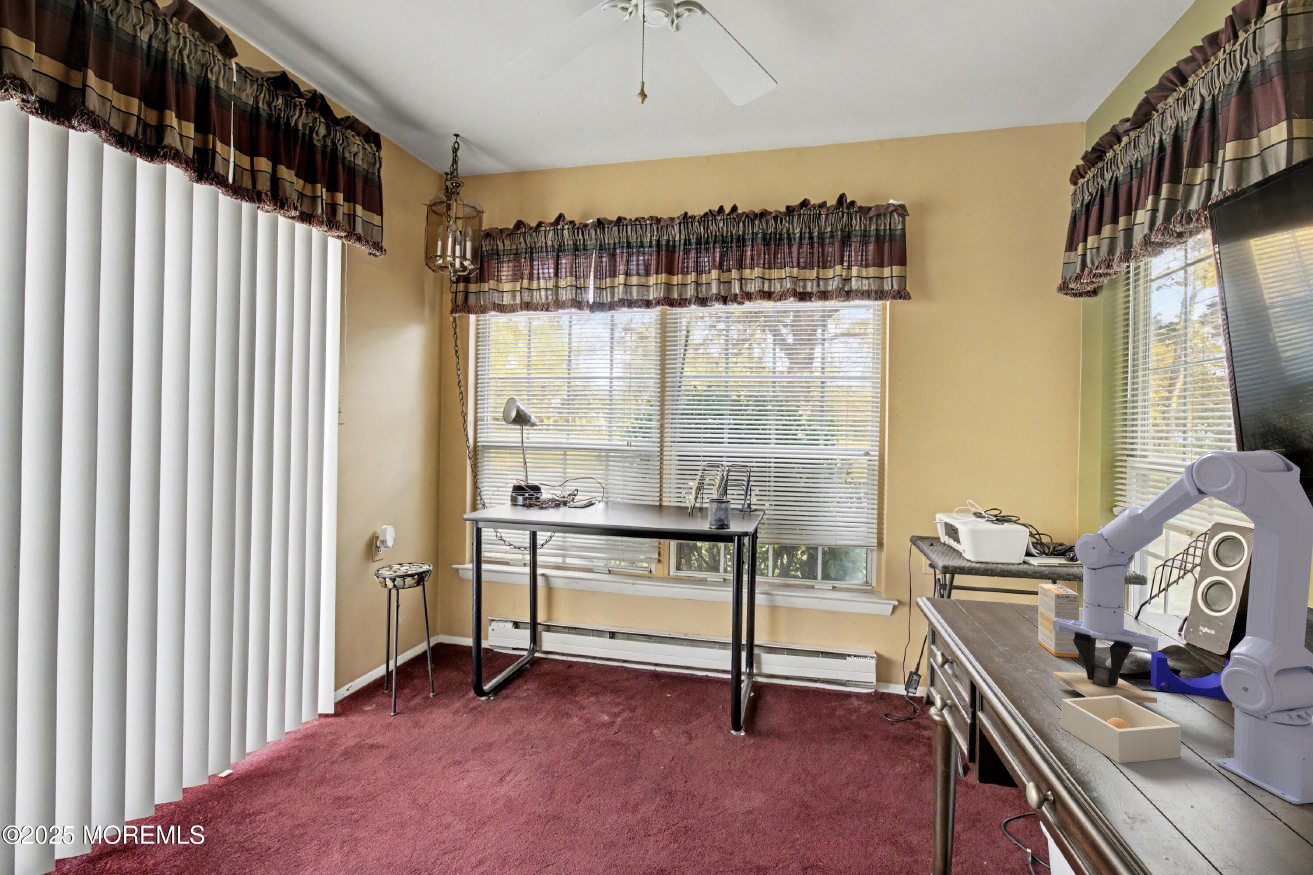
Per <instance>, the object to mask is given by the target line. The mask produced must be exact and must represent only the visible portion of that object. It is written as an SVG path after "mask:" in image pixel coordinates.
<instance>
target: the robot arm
mask: <svg viewBox="0 0 1313 875" xmlns="http://www.w3.org/2000/svg"><path fill="white" fill-rule="evenodd" d="M1300 474H1301V468H1300V467H1299V466H1297V465H1296V464H1294V463H1293V462H1292V461H1290V460H1289V459H1287V457H1285V456H1283V455H1282V454H1280V453H1278V452H1276V451H1272V450H1267V449H1259V450H1258V449H1257V450H1254V451H1247V450H1246V451H1224V450H1213V451H1209V452H1206V453H1205V452H1204V453H1203V454H1202V455H1201V456H1199V457H1198V458H1197V459H1196V460H1195V461H1193V462H1191V463H1189V464H1187V465H1185V467H1184V470H1183V473H1181V475H1179V476H1178V477H1177V478H1176V479H1174V480H1173V481H1172V482H1171V483H1170V484H1168V486H1167V487H1165V488H1164V489H1163V490H1162V491H1161V492H1159V493H1158V494H1157V495H1156V496H1155V497H1153V499H1151V500H1150V501H1149V502H1148V503H1147V504H1146V505H1144V506H1143V507H1138V506H1130V507H1124V508H1121V509H1120V510H1119V511H1117V514H1118V516H1117V517H1115V518H1114V519H1113V520H1111V521H1110V522H1109V523H1107V524H1106V525H1105V524H1104V525H1101V526H1100V527H1099V528H1098V531H1097V532H1096V533H1084V534H1081V535H1080V537H1079V538H1078V539H1077V540H1076V542H1075V546H1074V550H1075V551H1074V552H1075V556H1076V558H1077V560H1078V561H1079V562H1080V564H1081V565H1082V566H1083V570H1082V571H1083V572H1082V573H1083V577H1082V578H1083V580H1082V582H1083V584H1082V620H1079V621H1075V620H1067V619H1061V618H1055V619H1054V620H1053V631H1058V632H1060V631H1063V632H1068V633H1073V634H1075V636H1074V639H1073V642H1074V644H1075V646H1076V648H1077V649H1078V651H1079V656H1080V657H1081V660H1082V662H1083V665H1084V667H1085V673H1087V678H1088V680H1093V665H1094V664H1096V646H1097V639H1098V640H1101V641H1107V642H1111V643H1112V644H1111V645H1110V646H1109V653H1110V654H1109V656H1110V667H1111V675H1110V685H1112V686H1116V685H1117V684H1118V679H1119V678H1120V674H1121V672H1122V668H1123V666H1124V664H1125V662H1126V660H1127V658H1128V656H1129V655H1130V653H1131V651H1132V650H1133V648H1134V647H1135V648H1138V649H1145V650H1147V651H1148V652H1150V653H1151V652H1158V650H1159V638H1158V637H1155V636H1150V635H1147V634H1142V633H1139V632H1135V631H1133V630H1130V629H1129V630H1128V629H1125V578H1126V575H1128V568H1129V566H1130V565H1131V564H1132V563H1133V561H1134V559H1135V555H1136V553H1137V552H1139V551H1140V550H1142V549H1143V548H1145V547H1146V546H1148V545H1149V544H1151V543H1152V542H1155V540H1157V539H1158V538H1160V537H1161V536H1162V535H1163V533H1164V524H1165V523H1166V522H1168V521H1170V520H1171V519H1173V518H1175V517H1177V516H1178V515H1180V514H1181V513H1183V512H1184V511H1187V510H1188V509H1190V508H1191V507H1193V506H1195V505H1196V504H1198V503H1199V502H1201V501H1203V500H1204V499H1207V498H1214V499H1216V500H1218V501H1220V502H1222V503H1225V504H1226V505H1229V506H1231V507H1232V508H1235V509H1236V510H1238V511H1240V512H1241V514H1242V515H1244V516H1245V517H1247V518H1248V519H1249V520H1251V522H1252V523H1253V536H1252V537H1253V538H1252V551H1251V560H1250V561H1251V565H1250V575H1249V576H1250V578H1249V586H1248V587H1249V590H1248V603H1247V616H1246V626H1245V627H1246V629H1245V636H1244V637H1243V639H1242V640H1241V641H1240V642H1238V644H1237V645H1236V646H1235V647H1234V648H1233V649H1232V650H1231V652H1230V657H1229V661H1230V662H1229V664H1228V666H1227V667H1226V668H1225V669H1224V668H1223V669H1224V670H1222V671H1223V672H1222V671H1221V672H1222V674H1221V685H1222V689H1223V691H1224V693H1225V694H1226V696H1227V697H1228V699H1229V700H1228V701H1230V702H1231V705H1232V706H1231V707H1232V708H1233V709H1234V722H1233V723H1234V730H1233V732H1234V734H1233V739H1234V741H1233V757H1229V758H1228V757H1227V758H1220V759H1219V758H1217V759H1215V764H1216V765H1218V766H1220V767H1222V768H1224V769H1226V770H1228V771H1230V772H1232V773H1234V774H1235V775H1237V776H1238V777H1241V778H1242V779H1245V780H1247V781H1249V782H1251V783H1253V784H1255V785H1256V786H1258V787H1260V788H1262V789H1264V790H1266V791H1267V792H1270V793H1272V795H1273V794H1274V795H1275V796H1276V797H1279V798H1281V799H1283V800H1285V801H1286V802H1288V803H1290V802H1291V803H1290V804H1294V805H1303V804H1310V803H1311V804H1312V803H1313V722H1312V719H1313V718H1312V717H1313V652H1312V651H1310V650H1308V648H1307V647H1305V644H1306V643H1305V642H1306V630H1307V619H1308V609H1309V608H1308V606H1309V596H1310V595H1309V593H1310V586H1311V585H1310V584H1311V574H1312V573H1311V571H1312V562H1313V561H1312V559H1313V505H1312V503H1311V501H1310V499H1309V498H1308V496H1307V494H1306V492H1305V490H1304V488H1303V486H1302V484H1301V483H1300Z"/></svg>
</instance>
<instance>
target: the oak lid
mask: <svg viewBox="0 0 1313 875" xmlns="http://www.w3.org/2000/svg"><path fill="white" fill-rule="evenodd" d="M1110 675H1111V666H1108V665H1105V664H1101V663H1099V664H1097V663H1095V664H1094V665H1093V680H1088V678H1087V673H1086V672H1073V671H1072V672H1068V671H1067V672H1066V671H1052V677H1054V679H1056V680H1058V681H1060V682H1062V683H1063V684H1065V685H1066V686H1067V687H1069V688H1072V689H1073V690H1075V691H1076V692H1077V693H1080V694H1081V695H1083V696H1084V697H1085V698H1086V697H1099V696H1113V695H1119V696H1121V697H1123V698H1125V699H1127V700H1129V701H1131V702H1133V703H1135V704H1146V703H1147V704H1157V703H1158V698H1157V697H1156V696H1153V695H1152V694H1150V693H1148V692H1146V691H1144V690H1142V689H1140V688H1138V687H1137V686H1135V685H1132V683H1129V682H1127V681H1125V680H1123V679H1121V678H1120V677H1119V679H1118V684H1117V685H1116V686H1112V685H1110Z"/></svg>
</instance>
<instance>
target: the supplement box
mask: <svg viewBox="0 0 1313 875" xmlns="http://www.w3.org/2000/svg"><path fill="white" fill-rule="evenodd" d="M1037 591H1038V599H1037V600H1038V602H1037V603H1038V605H1037V606H1038V608H1037V610H1038V613H1037V614H1038V615H1037V616H1038V617H1037V619H1038V620H1037V621H1038V623H1037V624H1038V626H1037V627H1038V630H1037V631H1038V633H1037V635H1038V636H1037V638H1038V639H1037V640H1038V641H1037V644H1040V646H1041V647H1042V648H1044V649H1046V650H1047V651H1048V652H1049V653H1051V654H1052V655H1053V656H1054V657H1059V658H1061V657H1062V658H1075V657H1076V659H1077V658H1079V656H1080V653H1079V651H1078V649H1077V648H1076V646H1075V644H1074V642H1073V639H1074V636H1075V634H1073V633H1068V632H1063V631H1060V632H1058V631H1053V620H1054V619H1055V618H1061V619H1067V620H1075V621H1080V594H1079V593H1077V592H1075V591H1074V590H1071V589H1070V588H1068V587H1067V586H1065V585H1062V584H1056V583H1055V584H1054V583H1038V590H1037Z"/></svg>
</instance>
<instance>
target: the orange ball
mask: <svg viewBox="0 0 1313 875" xmlns="http://www.w3.org/2000/svg"><path fill="white" fill-rule="evenodd" d="M1107 723H1109V724H1111V725H1112V726H1114V727H1116V728H1118V729H1126V728H1130V726H1129V725H1128V723H1127V722H1125V721H1124V720H1122V719H1120V718H1111V719H1109V720H1108V721H1107Z"/></svg>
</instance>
